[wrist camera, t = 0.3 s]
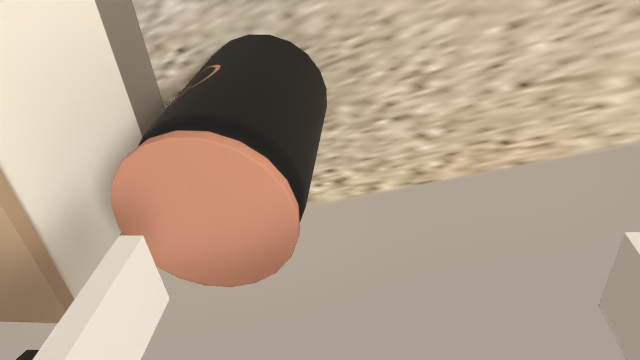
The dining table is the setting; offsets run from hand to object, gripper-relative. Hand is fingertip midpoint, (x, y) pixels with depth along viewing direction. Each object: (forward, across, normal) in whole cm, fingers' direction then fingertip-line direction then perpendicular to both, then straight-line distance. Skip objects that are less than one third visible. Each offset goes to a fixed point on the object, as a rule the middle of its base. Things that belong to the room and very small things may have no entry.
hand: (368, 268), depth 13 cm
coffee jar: (+27, -9, -6) cm, 30 cm away
